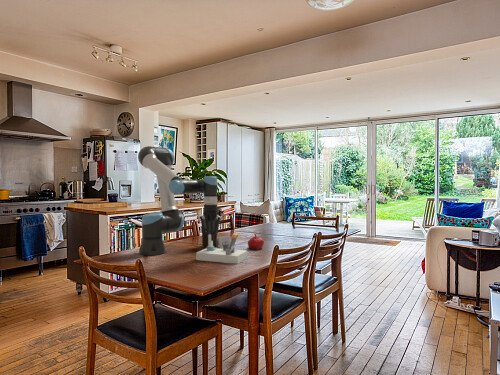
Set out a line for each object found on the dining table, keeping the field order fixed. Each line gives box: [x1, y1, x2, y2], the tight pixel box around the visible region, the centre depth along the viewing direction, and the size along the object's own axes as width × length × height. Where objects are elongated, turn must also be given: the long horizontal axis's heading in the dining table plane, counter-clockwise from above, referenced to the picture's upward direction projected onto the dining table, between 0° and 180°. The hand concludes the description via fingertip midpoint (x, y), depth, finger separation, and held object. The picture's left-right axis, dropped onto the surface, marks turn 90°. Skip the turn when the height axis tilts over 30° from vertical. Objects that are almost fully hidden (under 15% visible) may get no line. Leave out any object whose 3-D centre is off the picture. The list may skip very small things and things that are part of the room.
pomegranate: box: [247, 233, 264, 250], centre depth 213 cm, size 10×10×9 cm
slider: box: [223, 244, 229, 250], centre depth 188 cm, size 2×3×3 cm
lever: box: [229, 232, 240, 252], centre depth 179 cm, size 2×4×10 cm, turn 160°
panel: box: [195, 247, 248, 265], centre depth 185 cm, size 24×14×7 cm, turn 70°
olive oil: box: [200, 218, 218, 249], centre depth 219 cm, size 11×11×25 cm
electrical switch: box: [215, 235, 231, 249], centre depth 203 cm, size 9×5×9 cm, turn 141°
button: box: [207, 246, 215, 251], centre depth 189 cm, size 4×4×5 cm
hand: (210, 246), depth 189 cm, fingers closed
